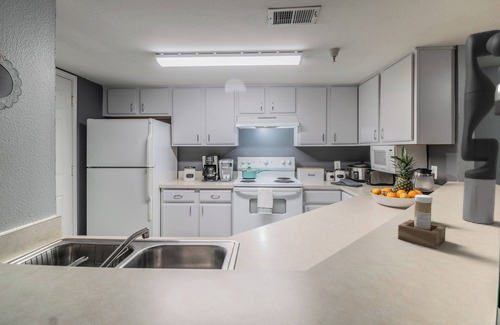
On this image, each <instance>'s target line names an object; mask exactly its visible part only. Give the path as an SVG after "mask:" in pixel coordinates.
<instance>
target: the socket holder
mask: <svg viewBox="0 0 500 325" xmlns="http://www.w3.org/2000/svg"><path fill="white" fill-rule="evenodd" d="M397 239H398V240H401V241H404V242H408V243H413V244H415V245H416V244H417V245H420V246H424V247H427V248H431V249H437V248H438V247H439V246H440V245H441V244H443V243H444V242H445V241H446V226H444V225H439V224H434V223H431V228H430V231H428V230H423V229H419V228H414V219H409V220H407V221H405V222H402V223H400V224H399V225H398V229H397ZM436 247H437V248H436Z"/></svg>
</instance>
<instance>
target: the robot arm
mask: <svg viewBox="0 0 500 325" xmlns="http://www.w3.org/2000/svg"><path fill="white" fill-rule="evenodd" d="M489 56H493V57H497V58H498V57H500V29H492V30H491V29H490V30H486V31H482V32H481V31H480V32H476V33H475V32H474V33H472V34H470V35H468V36H467V38H466V40H465V44H464V61H465V64H464V65H465V66H464V67H465V80H464V92H463V125H462V126H463V128H462V135H461V146H460V156H461V159H462V161H464V162H482V163H483V162H485V163H484V164H483V165H481V166H480V167H476V168H472V169H468V170H466V171H465V172H464V174H463V175H464V179H463V200H462V201H463V202H462V220H464V221H466V222H471V223H477V224H483V225H492V224H494V222H495V221H494V220H495V206H496V187H497V186H496V183H497V180H496V179H497V168H498V166H497V165H498V158H499V152H500V151H499V150H500V144H499V140H498V139H497V138H494V137H480V138H478V137H477V138H476V137H475V138H473V135H474V134H475V130H476V129H477V127H478V126H479V124H480V123H481V122H482V121H483V120H484V118H485V117H486V116H487V115H488V114H489V113H491V111H492V110H493V115H494V116H496V117H500V66H499V67H498V68H497V71H496V72H497V73H496V84H495V83H494V82H493V81H492V80H491V78H490V77H489V76H488V75H487V74H486V73H485V72H484V70H482V68H481V67H480V65H479V64H480V63H479V62H478V58H482V57H489Z"/></svg>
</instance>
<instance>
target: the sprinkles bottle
mask: <svg viewBox="0 0 500 325" xmlns="http://www.w3.org/2000/svg"><path fill="white" fill-rule="evenodd" d="M432 203H433V197H432V195H427V194H415V195H414V213H415V217H413V218H414V219H413V220H414V228H419V229H423V230H428V231H430V228H431V224H432Z"/></svg>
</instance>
